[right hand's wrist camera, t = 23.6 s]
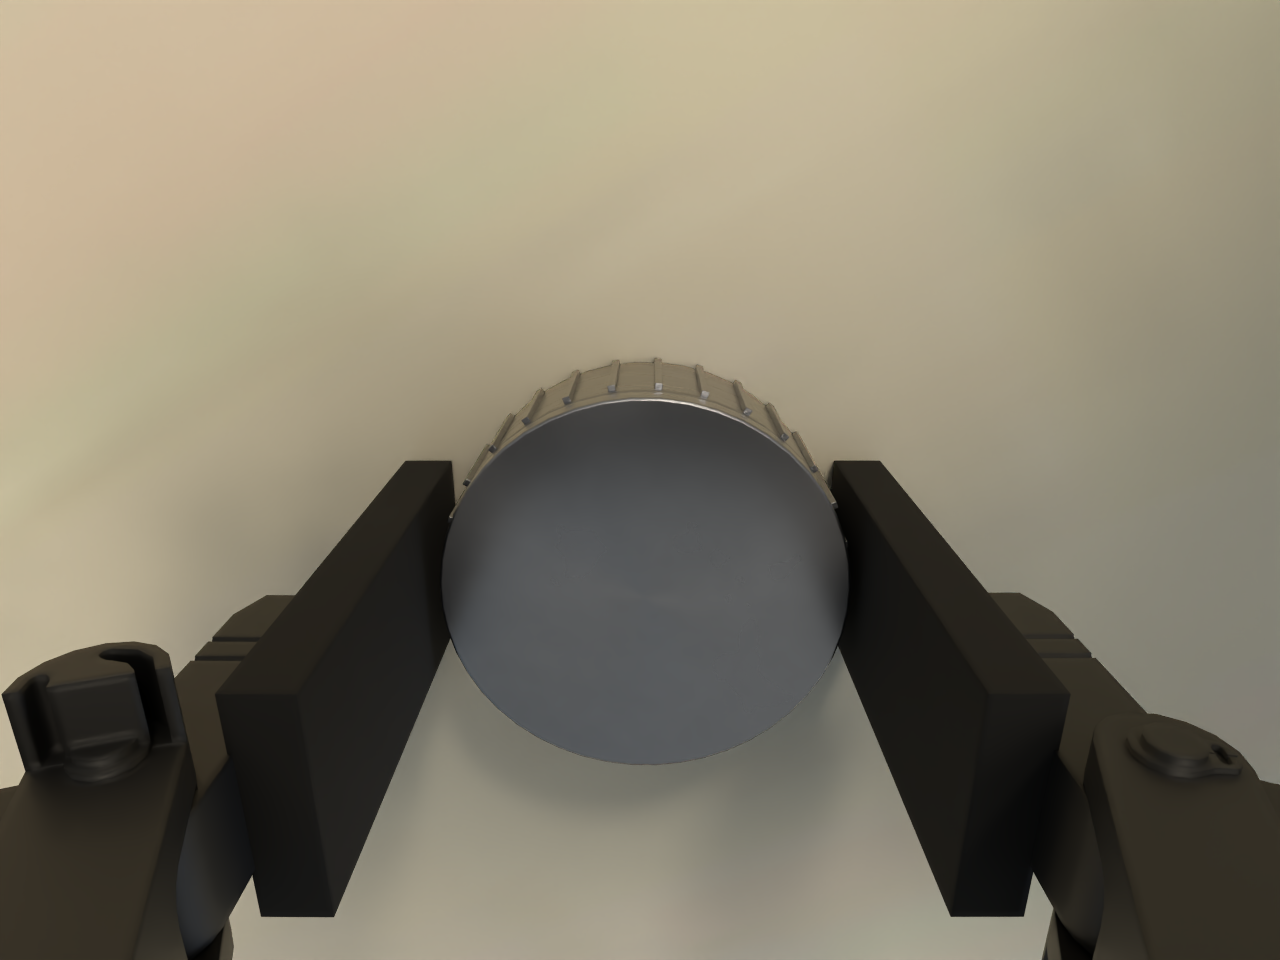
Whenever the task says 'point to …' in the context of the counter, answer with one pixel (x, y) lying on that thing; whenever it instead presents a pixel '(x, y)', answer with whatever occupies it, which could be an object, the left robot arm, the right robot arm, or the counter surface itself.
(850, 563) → the right robot arm
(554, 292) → the counter surface
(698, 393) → the lid
